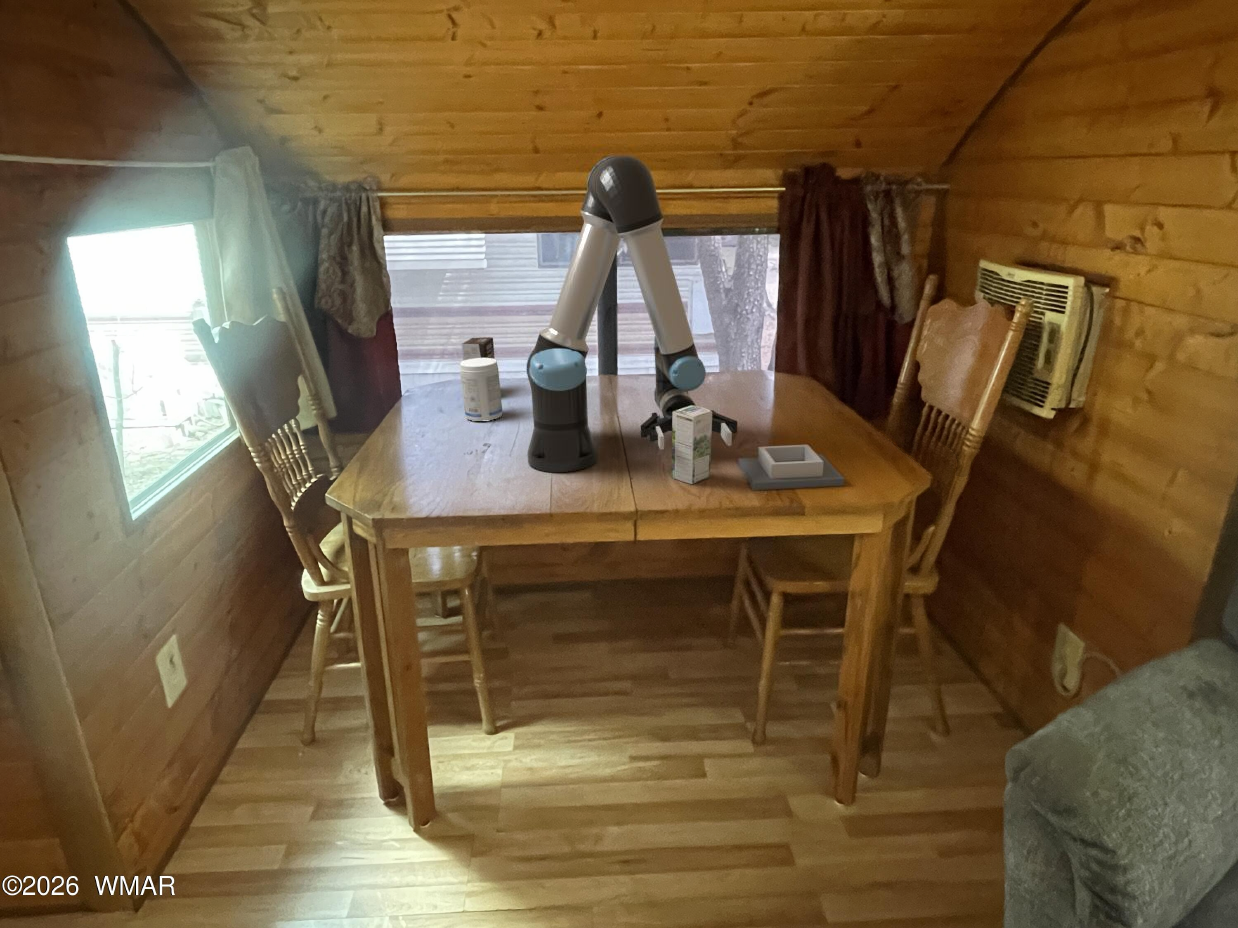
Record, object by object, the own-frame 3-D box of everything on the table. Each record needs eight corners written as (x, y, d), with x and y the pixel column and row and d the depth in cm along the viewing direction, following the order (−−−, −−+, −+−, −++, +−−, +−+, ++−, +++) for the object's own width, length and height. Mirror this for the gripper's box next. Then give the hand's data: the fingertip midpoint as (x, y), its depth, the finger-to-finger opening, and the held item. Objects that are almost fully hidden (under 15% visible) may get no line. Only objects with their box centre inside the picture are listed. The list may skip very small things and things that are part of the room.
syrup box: (689, 470, 165) (689, 404, 160) (711, 477, 161) (712, 409, 156) (671, 478, 161) (671, 410, 156) (693, 485, 157) (693, 416, 152)
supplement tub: (498, 410, 210) (493, 355, 205) (506, 420, 201) (502, 363, 196) (461, 415, 207) (456, 359, 201) (468, 425, 198) (463, 367, 193)
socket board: (753, 490, 154) (754, 468, 153) (738, 465, 168) (738, 445, 166) (843, 485, 156) (845, 464, 154) (821, 461, 169) (822, 441, 167)
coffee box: (488, 401, 218) (483, 343, 212) (466, 401, 219) (460, 343, 213) (498, 392, 226) (493, 336, 221) (476, 392, 227) (471, 336, 222)
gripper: (733, 423, 179) (757, 455, 159) (623, 429, 177) (633, 462, 157) (734, 391, 176) (758, 420, 157) (623, 396, 175) (633, 426, 155)
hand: (696, 441), depth 157 cm, fingers open, 13 cm apart
